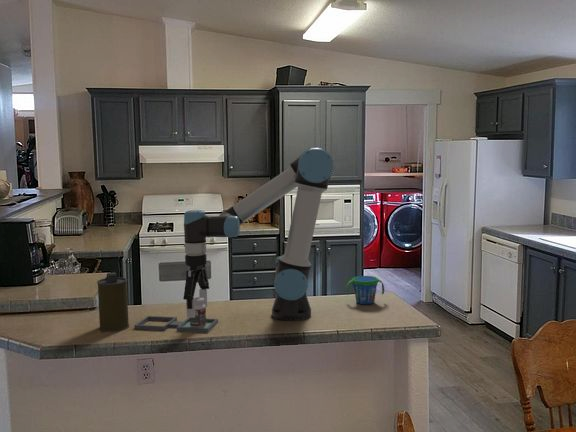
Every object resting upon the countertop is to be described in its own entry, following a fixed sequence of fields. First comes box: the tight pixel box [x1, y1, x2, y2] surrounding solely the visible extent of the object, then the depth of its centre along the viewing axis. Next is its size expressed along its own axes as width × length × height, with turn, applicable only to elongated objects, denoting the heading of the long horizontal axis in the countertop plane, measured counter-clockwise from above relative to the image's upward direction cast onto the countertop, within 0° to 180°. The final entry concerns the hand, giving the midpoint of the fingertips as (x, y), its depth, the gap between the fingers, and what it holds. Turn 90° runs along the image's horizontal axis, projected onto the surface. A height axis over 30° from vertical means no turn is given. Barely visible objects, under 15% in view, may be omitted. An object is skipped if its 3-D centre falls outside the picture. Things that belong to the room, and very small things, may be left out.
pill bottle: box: [190, 296, 207, 328], centre depth 208 cm, size 6×6×10 cm
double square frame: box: [133, 315, 219, 333], centre depth 210 cm, size 28×12×1 cm, turn 80°
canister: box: [96, 272, 130, 333], centre depth 208 cm, size 11×10×20 cm
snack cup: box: [345, 275, 385, 305], centre depth 237 cm, size 16×10×10 cm
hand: (197, 311), depth 208 cm, fingers open, 13 cm apart
